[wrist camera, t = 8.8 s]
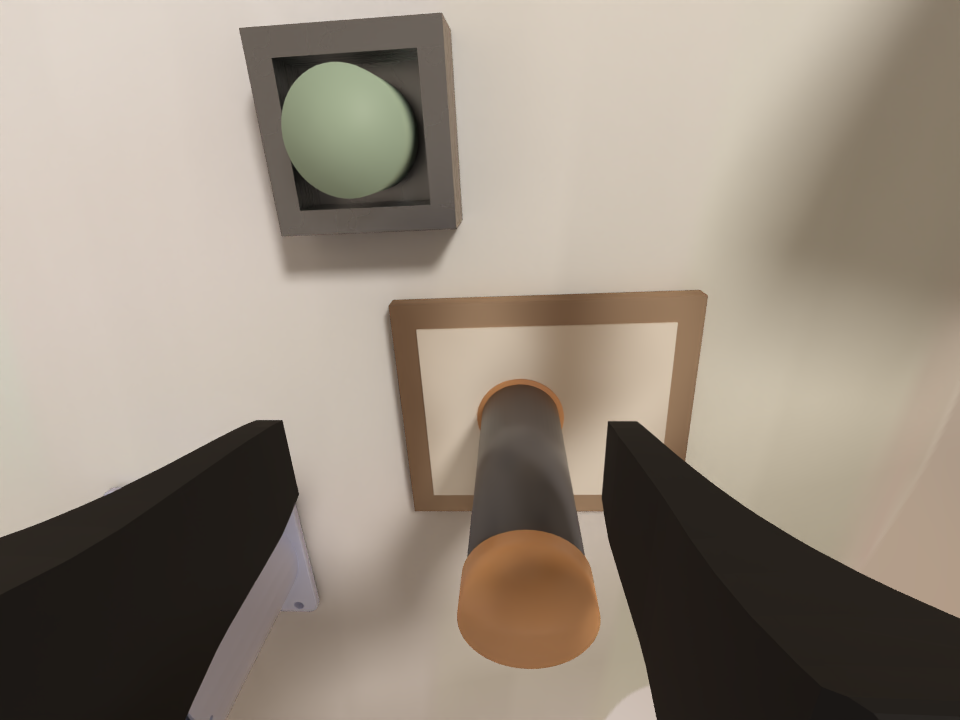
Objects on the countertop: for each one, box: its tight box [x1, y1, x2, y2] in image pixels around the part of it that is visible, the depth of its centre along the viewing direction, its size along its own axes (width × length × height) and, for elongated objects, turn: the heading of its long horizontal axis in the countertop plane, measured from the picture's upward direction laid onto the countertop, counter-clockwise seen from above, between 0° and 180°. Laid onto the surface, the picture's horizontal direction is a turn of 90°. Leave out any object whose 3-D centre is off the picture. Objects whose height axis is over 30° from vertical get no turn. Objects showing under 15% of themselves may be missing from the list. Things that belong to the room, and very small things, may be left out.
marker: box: [457, 384, 600, 669], centre depth 16 cm, size 3×3×10 cm
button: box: [281, 62, 418, 199], centre depth 15 cm, size 4×4×2 cm
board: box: [389, 290, 708, 511], centre depth 21 cm, size 12×10×1 cm
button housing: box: [239, 13, 462, 236], centre depth 16 cm, size 6×6×2 cm
